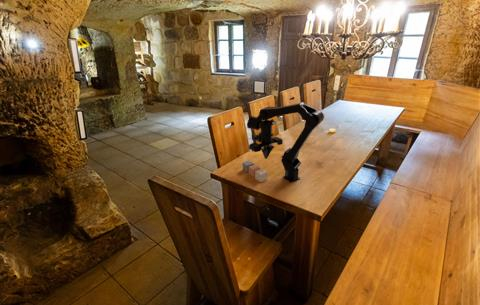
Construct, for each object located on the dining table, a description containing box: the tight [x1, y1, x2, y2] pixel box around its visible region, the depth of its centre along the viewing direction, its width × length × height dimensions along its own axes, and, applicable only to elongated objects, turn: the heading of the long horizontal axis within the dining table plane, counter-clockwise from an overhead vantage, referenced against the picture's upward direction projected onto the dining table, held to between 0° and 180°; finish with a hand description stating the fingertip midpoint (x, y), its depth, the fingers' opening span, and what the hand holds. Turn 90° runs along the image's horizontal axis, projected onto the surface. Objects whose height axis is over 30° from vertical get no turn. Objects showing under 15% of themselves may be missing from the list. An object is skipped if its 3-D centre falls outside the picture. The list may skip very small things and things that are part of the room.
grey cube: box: [242, 160, 255, 174], centre depth 144 cm, size 4×4×4 cm
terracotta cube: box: [248, 163, 261, 178], centre depth 140 cm, size 4×4×4 cm
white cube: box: [254, 168, 268, 183], centre depth 135 cm, size 4×4×4 cm
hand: (265, 158), depth 141 cm, fingers closed
